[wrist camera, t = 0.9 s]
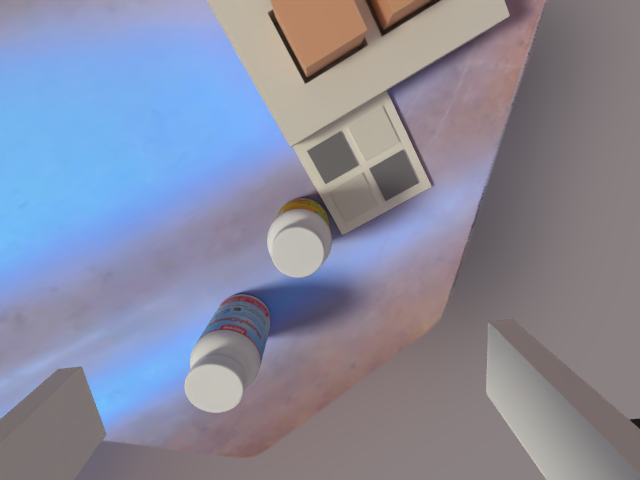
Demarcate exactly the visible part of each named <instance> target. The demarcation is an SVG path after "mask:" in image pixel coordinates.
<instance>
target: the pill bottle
mask: <svg viewBox="0 0 640 480" xmlns="http://www.w3.org/2000/svg"><path fill="white" fill-rule="evenodd" d="M270 324H271V318H270V313H269V310H268V308H267V307H266V305H265V304H264V303H263V302H262V301H261V300H259V299H258V298H256V297H254V296H251V295H245V294H239V295H234V296H231V297H229V298H227V299H226V300H225V301H223V302H222V303H221V305H220V306H219V308H218V309H217V311H216V312H215V314H214V316H213V317H212V319H211V321H210V322H209V324H208V326H207V327H206V329H205V330H204V332H203V334H202V335H201V337H200V338H199V340H198V342H197V343H196V345H195V347H194V349H193V351H192V354H191V358H190V367H191V370H190V372H189V374H188V376H187V378H186V381H185V392H186V395H187V397H188V399H189V400H190V401H191V403H192V404H194V405H195V406H196V407H198V408H199V409H202V410H204V411H207V412H213V413H219V412H225V411H228V410H230V409H232V408H234V407H235V406H236V405H237V404H238V403H239V402H240V401H241V399H242V397H243V394H244V391H245V389H246V388H247V387H248V386H249V385H250V384H251V383H252V382H253V381H254V379H255V378H256V376H257V374H258V371H259V368H260V364H261V360H262V356H263V353H264V349H265V345H266V341H267V337H268V333H269V330H270Z"/></svg>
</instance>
